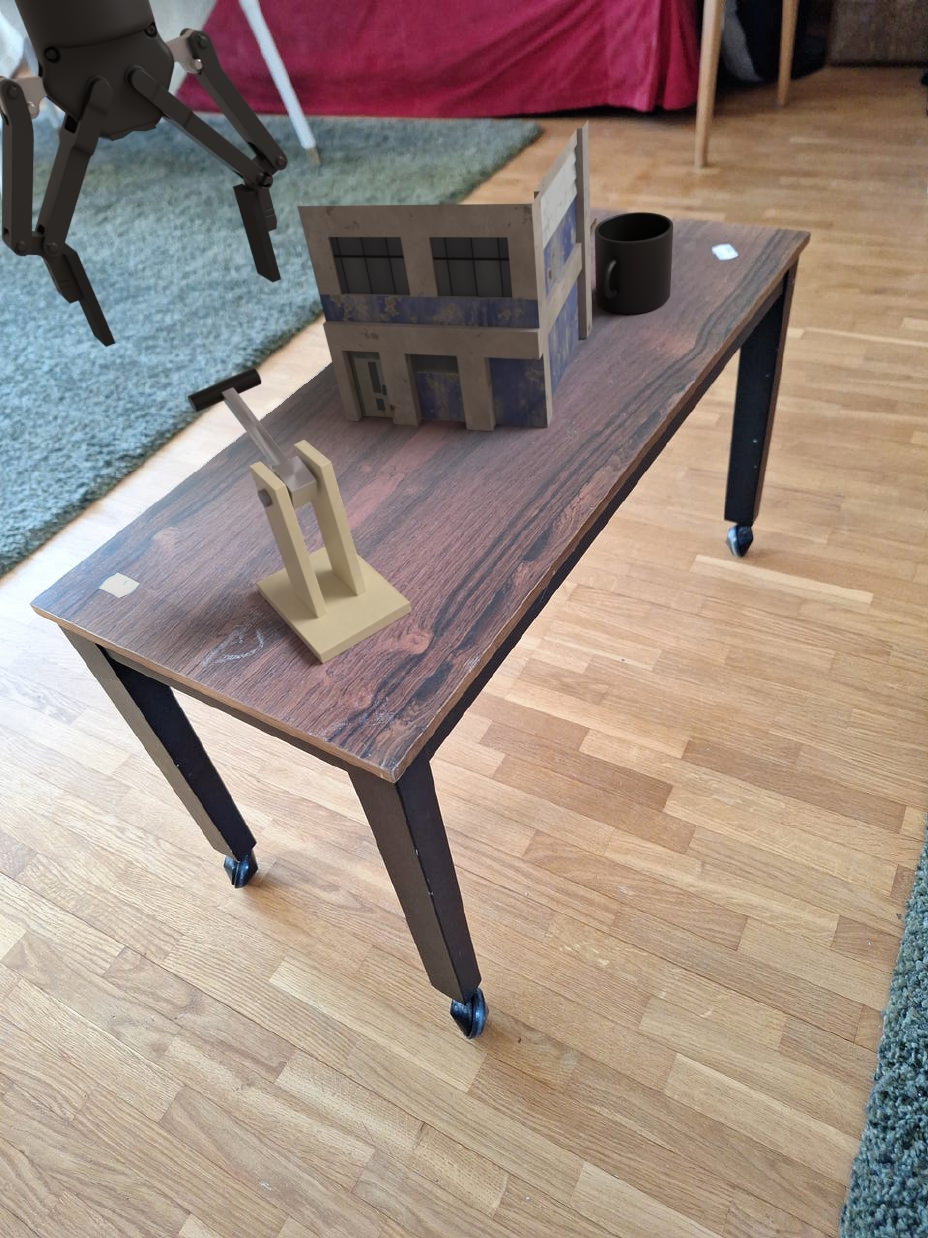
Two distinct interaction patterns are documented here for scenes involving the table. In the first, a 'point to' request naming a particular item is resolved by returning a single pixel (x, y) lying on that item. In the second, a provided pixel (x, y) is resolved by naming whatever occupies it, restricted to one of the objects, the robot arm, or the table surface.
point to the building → (457, 300)
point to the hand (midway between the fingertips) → (190, 307)
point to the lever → (259, 434)
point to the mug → (633, 262)
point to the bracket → (323, 567)
